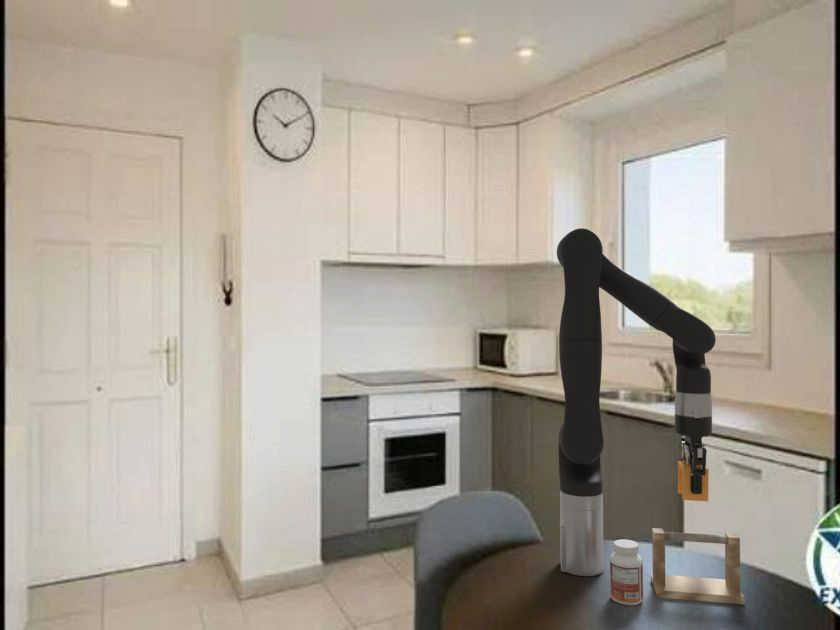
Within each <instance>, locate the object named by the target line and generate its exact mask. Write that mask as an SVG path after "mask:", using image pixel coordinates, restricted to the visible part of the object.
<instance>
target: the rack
mask: <svg viewBox="0 0 840 630" xmlns="http://www.w3.org/2000/svg"><path fill="white" fill-rule="evenodd" d="M651 529H652V531H651V534H652V535H651V537H652V538H651V539H652V545H651V546H652V548H651V549H652V551H651V552H652V573H650V582H651V584H652V587H653V590H654V592H655V595H656V598H659V599H671V600H672V599H673V600H685V601H686V600H687V601H696V602H710V603H720V604H722V603H723V604H733V605H734V604H735V605H745V596H744V594H743V593H742V590H741V543H740V542H741V538H740V536H739V535H738V534H737V533H736V532H726V531H725V532H724V535H722V534H706V533H690V532H676V531H675V532H672V531H665V530H664V529H663V528H657V527H653V528H651ZM666 541H673V542H675V541H676V542H689V543H702V544H703V543H704V544H705V543H706V544H719V545H720V544H722V545H723V544H724V557H725V558H724V566H725V567H724V568H725V569H724V570H725V573H724V574H725V577H724V579H723V578H712V577H711V578H710V577H699V576H683V575H672V574H666Z"/></svg>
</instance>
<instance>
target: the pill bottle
mask: <svg viewBox="0 0 840 630" xmlns="http://www.w3.org/2000/svg"><path fill="white" fill-rule="evenodd" d="M639 547H640V546H639V543H638V542H637V541H635V540H631V539H617V540H614V541H613V550H614V551H613V552H612V553H611V555H610V558H609V569H610V570H609V572H610V573H609V574H610V577H609V578H610V580H609V581H610V582H609V584H610V597H611V600H613V601H614V602H616V603H618V604H620V605H625V606H637V605H639V604H641V603H642V602H643V600H644V575H643V574H644V573H643V571H644V567H643V566H644V565H643V559H642V557H641V555H639Z"/></svg>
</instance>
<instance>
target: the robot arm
mask: <svg viewBox="0 0 840 630" xmlns="http://www.w3.org/2000/svg"><path fill="white" fill-rule="evenodd" d="M602 243H603V242H602V241H601V238H600V237H599V236H598V234H597V233H595V232H594V231H593V230H591V229H588V228H584V227H581V228H576V229H573V230H571V231H569V232H568V233H566V235H565V236H564V237H563V238H562V239H561V240H560V241H559V242H558V244H557V247H556V257H557V261H558V262H559V264H560V265H561V266H562V269H563V276H564V279H563V280H564V296H563V297H564V299H563V305H562V309H561V311H562V312H561V315H560V322H559V332H558V333H559V335H558V343H559V344H558V346H559V347H558V349H559V351H558V353H559V355H558V356H559V358H558V359H559V369H560V374H561V376H560V377H561V380H562V387H563V394H564V414H563V415H564V417H563V419H564V420H563V424H562V425H561V427H560V429H559V432H558V475H559V490H560V491H559V499H560V500H559V505H560V506H559V507H560V508H559V513H560V514H559V515H560V518H559V531H560V532H559V533H560V534H559V535H560V537H559V538H560V541H559V542H560V545H559V546H560V572H561V573H562V572H563V573H568V574H571V575H574V576H579V577H580V576H582V577H594V576H598V575H601V574H602V573H603V572H604V562H605V561H604V506H603V503H604V500H603V499H604V496H603V495H604V493H603V492H604V491H603V490H604V489H603V477H602V467H601V454H602V452H603V449H604V445H605V442H604V434H603V426H602V417H601V407H600V403H601V402H600V395H601V393H600V392H601V382H602V381H601V380H602V367H603V366H602V361H603V333H602V332H603V331H602V313H601V304H600V303H601V302H600V289H601V290H603V291H605V292H606V293H607V294H608V295H610V296H611V297H613V298H614V299H615V300H616V301H618V302H619V303H620V304H622V306H624V307H625V308H627V309H628V310H629V311H631V312H632V314H634V315H635V316H637V317H638V318H640V319H641V320H642V321H644V323H646V324H647V325H649V327H652V328H653V329H655V330H657V331H659V332H662V333H664V334H666V335H667V336H668V337H670V338H671V339H672V351H673V352H672V353H673V359H674V364H675V369H676V375H675V376H676V377H675V378H676V379H675V381H676V382H675V388H676V389H675V397H674V398H675V399H674V432H675V433H676V434H677V435H679V436H681V437H680V447H681V449H680V453H681V457H680V458H681V460H680V461H683V462H687V465H689V466H690V475H691V476H690V491H691V493H693V494H701V493H702V477H703V476H705V474H706V467H707V452H708V450H707V448H706V447H705V444H703V440H702V439H703V438H706V437H710V436H712V434H713V400H712V388H711V387H712V375H711V370H710V369H709V367H708V366H707V365H706V354H707V353H709V352H711V351H712V349H713V348H714V347H715V344H716V341H717V340H716V339H717V338H716V335H715V332H714V330H713V329H712V327H710V325H708V324H707V323H706V322H705V321H704V320H702V319H700V318H699V317H697V316H695V315H693V314H692V313H690V312H688V311H686V309H683V308H681V307H680V306H678V305H677V304H676V303H675V302H673V301H672V300H671V299H670V298H668V297H667V296H666V295H664V294H663V293H662V292H661V291H659V290H658V289H656V288H655V287H653V286H652V285H651V284H649V283H647V282H645V281H643V280H642V279H640V278H638V277H636V276H634V275H632V274H630V273H629V272H627V271H625V270H623V269H622V268H620V267H619V266H618V265H616V264H615V263H614V262H613V261H611V260H610V259H609V258H608V257H607V256H606V255H605V254H604V253H603V245H602ZM696 466H699V468H700V470H698V469H696Z"/></svg>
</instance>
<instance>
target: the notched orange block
mask: <svg viewBox="0 0 840 630" xmlns="http://www.w3.org/2000/svg"><path fill="white" fill-rule="evenodd" d="M677 469H678V470H677V493H678V494H679V495H681V497H682V498H681V499H682V501H683V500H684V501H692V502H693V501H695V502H709V467H707V466H706V474H705V476H703V477H702V493H701V494H693V493H691V491H690V476H691V475H690V466H689V465H687V462H683V461H681V460H679V461H677ZM696 469H698V470H700V468H699V466H696Z"/></svg>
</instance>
